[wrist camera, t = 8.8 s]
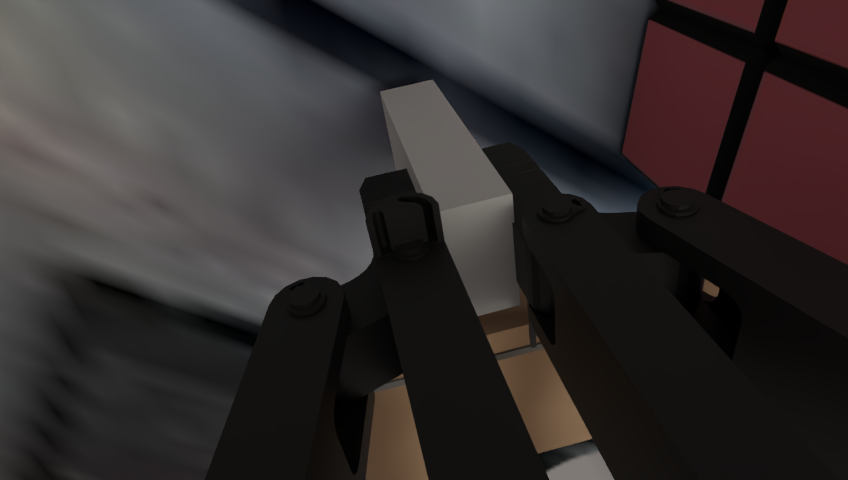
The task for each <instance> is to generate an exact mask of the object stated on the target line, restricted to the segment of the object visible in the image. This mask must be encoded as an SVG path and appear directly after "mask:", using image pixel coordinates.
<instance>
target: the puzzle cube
mask: <svg viewBox="0 0 848 480" xmlns="http://www.w3.org/2000/svg"><path fill="white" fill-rule="evenodd" d="M657 1H658V3H659V4H660V6H661V7H660V8H659V9H658V10H657V11H656V12H655V13H654V14H653V15H652V16H651V17H650V18H649V20H648V25H647V30H646V35H645V40H644V45H643V50H642V55H641V60H640V65H639V70H638V75H637V80H636V85H635V90H634V95H633V100H632V105H631V110H630V115H629V120H628V125H627V130H626V135H625V140H624V145H623V150H622V155H623V156H624V157H625V158H626V159H627V160H628V161H629V162H630V163H631V164H632V165H633V166H634V167H635V168H636V169H637V170H639V171H640V172H641V173H642V174H643V175H644V176H645V177H646V178H647V179H649V180H650V181H651V182H652V183H653V184H654V185H655V186H656V187H657V188H660V187H667V186H669V187H671V186H680V187H686V188H692V189H695V190H698V191H701V192H703V193H706V194H708V195H710V196H712V197H714V198H716V199H718V200H720V201H722V202H724V203H726V204H728V205H730V206H732V207H734V208H736V209H738V210H740V211H742V212H744V213H746V214H748V215H750V216H752V217H754V218H755V219H757V220H759V221H761V222H763V223H765V224H767V225H769V226H771V227H773V228H775V229H777V230H779V231H781V232H783V233H785V234H787V235H789V236H791V237H793V238H795V239H797V240H799V241H801V242H803V243H805V244H807V245H809V246H811V247H813V248H815V249H817V250H819V251H821V252H823V253H825V254H827V255H829V256H831V257H833V258H835V259H837V260H839V261H841V262H843V263H845V264H847V265H848V0H657Z"/></svg>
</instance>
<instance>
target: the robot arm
mask: <svg viewBox="0 0 848 480" xmlns="http://www.w3.org/2000/svg"><path fill="white" fill-rule="evenodd" d="M380 95H381V100H382V105H383V110H384V115H385V119H386V124H387V129H388V134H389V139H390V144H391V149H392V153H393V158H394V163H395V168H396V171H393V172H389V173H385V174H381V175H376V176H372V177H368V178H365V180H364V182H363V184H362V186H361V188H360V190H359V191H360V195H361V199H362V203H363V208H364V212H365V216H366V225H367V229H368V233H369V237H370V241H371V244H372V248H373V252H374V256H373V259H372V262H371V264H370V265H369V266H368V268H367V269H366V270H365V271H364V272H363V273H362V274H360V275H359V276H358V277H356V278H354V279H353V280H351V281H349V282H347V283H345V284H343V285H341V286H340V284H339V283H338V282H337V281H335V280H332V279H330V278H327V277H311V278H306V279H302V280H298V281H296V282H294V283H292V284H290V285H288V286H286V287H285V288H284V289H282V290H281V291H280V292H279V293H278V294H276V295H275V297H274V298H273V300H272V301H271V303H270V305H269V307H268V310H267V312H266V315H265V318H264V320H263V323H262V326H261V329H260V331H259V334H258V337H257V339H256V342H255V345H254V348H253V350H252V353H251V356H250V358H249V361H248V364H247V367H246V369H245V372H244V375H243V377H242V380H241V383H240V386H239V388H238V391H237V394H236V396H235V399H234V402H233V405H232V407H231V410H230V413H229V416H228V418H227V421H226V424H225V426H224V429H223V432H222V435H221V437H220V440H219V443H218V445H217V448H216V451H215V454H214V456H213V459H212V462H211V464H210V467H209V470H208V473H207V475H206V478H205V480H365V479H366V471H367V462H368V454H369V445H370V437H371V429H372V420H373V412H374V404H375V392H374V390H376V389H377V388H379V387H381V386H383V385H384V384H386V383H388V382H389V381H391V380H393V379H395V378H396V377H398V376H400V375H401V374H403V376H404V380H405V384H406V389H407V393H408V397H409V401H410V405H411V409H412V414H413V418H414V422H415V426H416V430H417V434H418V438H419V443H420V447H421V451H422V455H423V459H424V463H425V467H426V472H427V476H428V480H549V478H548V476H547V473H546V471H545V469H544V467H543V464H542V462H541V460H540V457H539V455H538V453H537V451H536V448H535V446H534V444H533V441H532V439H531V437H530V435H529V432H528V430H527V428H526V425H525V423H524V421H523V419H522V416H521V414H520V412H519V409H518V407H517V405H516V403H515V400H514V398H513V396H512V393H511V391H510V389H509V387H508V384H507V382H506V380H505V377H504V375H503V373H502V371H501V368H500V366H499V364H498V361H497V359H496V357H495V355H494V352H493V350H492V348H491V345H490V343H489V341H488V339H487V336H486V334H485V332H484V329H483V327H482V325H481V323H480V320H479V318H478V316H481V315H484V314H488V313H492V312H496V311H499V310H503V309H507V308H511V307H515V306H518V305H520V293H519V286H520V288H521V290H522V291H523V293H524V295H525V297H526V299H527V308H528V325H529V340H530V345H531V348H535V347H536V336H538V338H539V340H540V342H541V344H542V346H543V347H544V349H545V351H546V353H547V355H548V357H549V359H550V360H551V362H552V364H553V366H554V368H555V370H556V372H557V373H558V375H559V377H560V379H561V381H562V383H563V385H564V387H565V388H566V390H567V392H568V394H569V396H570V398H571V400H572V401H573V403H574V405H575V407H576V409H577V411H578V413H579V414H580V416H581V418H582V420H583V422H584V424H585V426H586V428H587V429H588V431H589V433H590V435H591V437H592V439H593V441H594V442H595V444H596V446H597V448H598V450H599V452H600V454H601V455H602V457H603V459H604V461H605V463H606V465H607V467H608V468H609V470H610V472H611V474H612V476H613V478H614V479H615V480H848V265H847V264H845V263H843V262H841V261H839V260H837V259H835V258H833V257H831V256H829V255H827V254H825V253H823V252H821V251H819V250H817V249H815V248H813V247H811V246H809V245H807V244H805V243H803V242H801V241H799V240H797V239H795V238H793V237H791V236H789V235H787V234H785V233H783V232H781V231H779V230H777V229H775V228H773V227H771V226H769V225H767V224H765V223H763V222H761V221H759V220H757V219H755V218H754V217H752V216H750V215H748V214H746V213H744V212H742V211H740V210H738V209H736V208H734V207H732V206H730V205H728V204H726V203H724V202H722V201H720V200H718V199H716V198H714V197H712V196H710V195H708V194H706V193H703V192H701V191H698V190H695V189H692V188H686V187H680V186H671V187H669V186H667V187H660V188H657V189H653V190H650V191H648V192H647V193H645V194H643V195H642V196H641V197H640V199H639V201H638V204H637V212H624V213H598V212H597V210H596V209H595V208H594V207H593V206H592V205H591V204H590V203H589V202H587V201H586V200H584V199H583V198H581V197H578V196H575V195H571V194H562V193H561V192H560V191H559V190H558V189H557V187H556V186H555V185H554V184H553V183H552V182H551V180H550V179H549V178H548V177H547V176H546V175H545V173H544V172H543V171H542V170H540V167H539V166H538V165H537V164H536V163H535V162H533V159H532V158H531V157H530V156H529V154H528V153H527V152H526V151H525V150H524V149H522V148H520V147H518V146H515V145H513V144H511V143H504V144H500V145H496V146H491V147H487V148H483V149H481V148H480V146H479V145H478V144H477V142H476V141H475V139H474V138H473V136H472V135H471V134H470V132H469V131H468V129H467V128H466V126H465V125H464V124H463V122H462V121H461V119H460V118H459V116H458V115H457V114H456V112H455V111H454V109H453V108H452V106H451V105H450V104H449V102H448V101H447V99H446V98H445V96H444V95H443V94H442V92H441V91H440V89H439V88H438V86H437V85H436V84H435V82H434V81H433V80H429V81H424V82H420V83H415V84H411V85H406V86H402V87H398V88H393V89H389V90H384V91H380ZM705 279H706V280H707V281H709V282H711V283H712V284H714V285H715V286H717V287H718V288H719V292H718V296H717V297H713V296H711V295H709V294H708V293H706V292H705V291H703V287H704V281H705Z"/></svg>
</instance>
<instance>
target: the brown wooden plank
mask: <svg viewBox="0 0 848 480" xmlns="http://www.w3.org/2000/svg"><path fill="white" fill-rule="evenodd" d="M703 291H705V292H706V293H708V294H709V295H711V296H713V297H717V296H718V292H719V288H718V287H717V286H715V285H714V284H712V283H711V282H709V281H707V280H706V279H705V281H704V287H703ZM519 293H520V305H518V306H515V307H511V308H507V309H503V310H499V311H496V312H492V313H488V314H484V315H481V316H478V318H479V320H480V323H481V325H482V327H483V329H484V332H485V334H486V336H487V339H488V341H489V343H490V345H491V348H492V350H493V352H494V355H495V357H496V359H497V361H498V364H499V366H500V368H501V371H502V373H503V375H504V377H505V380H506V382H507V384H508V387H509V389H510V391H511V393H512V396H513V398H514V400H515V403H516V405H517V407H518V409H519V412H520V414H521V416H522V419H523V421H524V423H525V425H526V428H527V430H528V432H529V435H530V437H531V439H532V441H533V444H534V446H535V448H536V451H537V453H541V452H545V451H549V450H552V449H556V448H560V447H563V446H567V445H571V444H574V443H578V442H582V441H585V440H589V439H592V437H591V435H590V433H589V431H588V429H587V428H586V426H585V424H584V422H583V420H582V418H581V416H580V414H579V413H578V411H577V409H576V407H575V405H574V403H573V401H572V400H571V398H570V396H569V394H568V392H567V390H566V388H565V387H564V385H563V383H562V381H561V379H560V377H559V375H558V373H557V372H556V370H555V368H554V366H553V364H552V362H551V360H550V359H549V357H548V355H547V353H546V351H545V349H544V347H543V346H542V344H541V342H540V340H539V338H538V336H536V347H535V348H531V345H530V340H529V325H528V308H527V299H526V297H525V295H524V293H523V291H522V290H521V288H520V287H519ZM374 392H375V404H374V412H373V420H372V429H371V437H370V445H369V454H368V462H367V471H366V480H428V476H427V472H426V467H425V463H424V459H423V455H422V451H421V447H420V443H419V438H418V434H417V430H416V426H415V422H414V418H413V414H412V409H411V405H410V401H409V397H408V393H407V389H406V384H405V380H404V376H403V374H401V375H400V376H398V377H396V378H395V379H393V380H391V381H389V382H388V383H386V384H384V385H383V386H381V387H379V388H377V389H376V390H374Z"/></svg>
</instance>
